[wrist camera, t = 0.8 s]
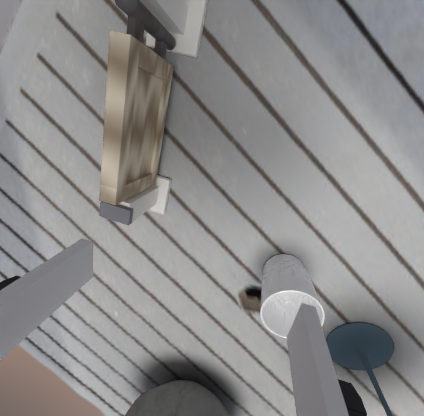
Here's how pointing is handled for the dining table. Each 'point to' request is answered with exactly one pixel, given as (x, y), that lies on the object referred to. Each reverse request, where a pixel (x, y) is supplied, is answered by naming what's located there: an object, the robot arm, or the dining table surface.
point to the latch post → (139, 203)
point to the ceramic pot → (178, 401)
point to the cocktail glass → (361, 350)
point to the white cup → (286, 293)
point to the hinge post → (179, 23)
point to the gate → (134, 105)
